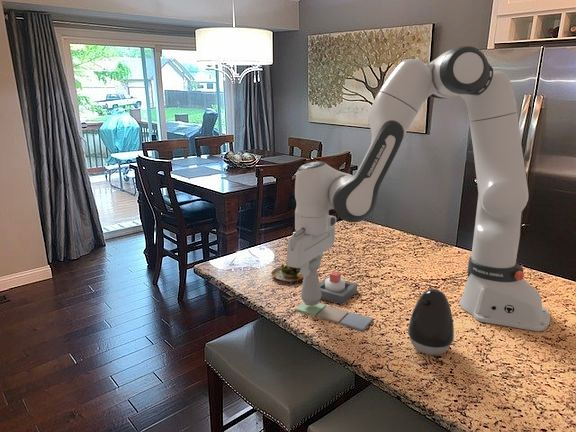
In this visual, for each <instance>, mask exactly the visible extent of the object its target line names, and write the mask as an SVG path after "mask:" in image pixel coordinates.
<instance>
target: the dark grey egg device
mask: <svg viewBox="0 0 576 432" xmlns="http://www.w3.org/2000/svg"><path fill="white" fill-rule="evenodd" d="M407 334H408V336H409V339H410V343H411V344H412V346H413V347H414V348H415V349H416V350H417V351H418V352H420V353H422V354H425V355H428V356H429V355H430V356H438V355H441V354H444V353H446V351H448V349H449V348H450V346H451V344H453V342H454V339H455V329H454V318H453V314H452V309H451V305H450V303H449V300H448V298H447V296H446V295H445V294H444V292H442V291H441V290H439V289H438V288H437V289H436V288H429V289H427V290H425V291H424V292H423V293H422V294H421V295H420V297H418V300H417V301H416V303H415V306H414V307H413V310H412V313H411V315H410V320H409V323H408V329H407Z"/></svg>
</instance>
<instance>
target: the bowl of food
mask: <svg viewBox="0 0 576 432" xmlns="http://www.w3.org/2000/svg"><path fill="white" fill-rule="evenodd" d="M285 264H286V265H284V264H283V263H281V264H280V266H279V267H277V268H275V269H273V270H272V272H271V276H272V277H273V278H276V279H277V280H279V281H281V282H286V283H287V282H290V283H293V282H296V283H297V284H298V285H299V284H303V279H304V276H303V275H302V269H301V267H300V268H293V267H290V266H288V265H287V263H286V262H285Z"/></svg>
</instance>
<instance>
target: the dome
mask: <svg viewBox="0 0 576 432" xmlns="http://www.w3.org/2000/svg"><path fill="white" fill-rule="evenodd" d="M341 274H342V273H341V272H338V271H334V270H333V271H331V273H329V276H328V277H329V278H327V277H326V278H327V279H325V278H324V279H325V289H326V290H330V291H333V292H337V293H341V292H342V291H344V290H345V281H346V280H345V279H344V278H342V277H341V276H342V275H341Z"/></svg>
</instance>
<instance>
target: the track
mask: <svg viewBox="0 0 576 432" xmlns="http://www.w3.org/2000/svg"><path fill="white" fill-rule="evenodd" d="M294 311H296V312H298V313H302V314H305V315H309V316H311V317H316V318H318V319H322V320H325V321H328V322H330V323H335V324H339V325H341V326H345V327H348V328H351V329H355V330H358V331H361V332H364V331H365V330H366V328H368V326H369V325H370V324H371V323H372V322H373V319H374V318H372V317H369V316H366V315H363V314H358V313H356V312H352V311H351V312H350V311H348V310H344V309H341V308H338V307H334V306H330V305H326V304H324V303H320V302H319V303H318V304H317V305H314V306H309V305H306V304H305V303H304V302H303V301H302V302H301V303H300V304H299V305H298V306H296V307H295V308H294Z"/></svg>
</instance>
